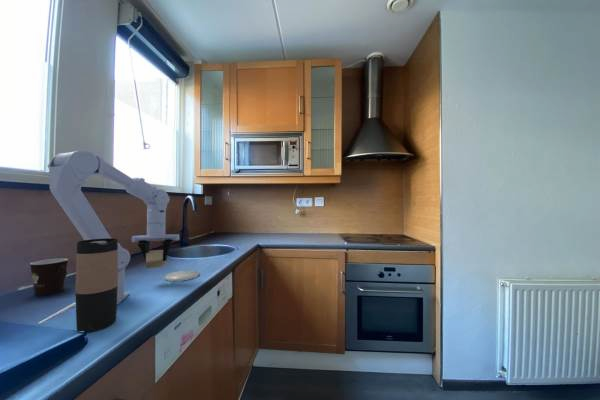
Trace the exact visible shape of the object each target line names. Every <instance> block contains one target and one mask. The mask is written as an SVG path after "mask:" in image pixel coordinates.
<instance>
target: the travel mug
mask: <svg viewBox="0 0 600 400" xmlns="http://www.w3.org/2000/svg"><path fill="white" fill-rule="evenodd" d="M118 241H119V240H118V238H112V237H111V238H104V239H91V240H84V239H83V240H80V241H77V242H76V259H75V260H76V262H75V263H76V266H75V302H76V306H75V320H76V321H75V322H76V331H77V332H78V331H84V332H86V333H85V334H87V333H95V332H98V331H100V330H102V331H103V330H104V329H107V328H109V327H111V326H112V325H113V324H115V323H116V319H117V309H118V308H117V307H118V305H117V290H118V243H119V242H118Z"/></svg>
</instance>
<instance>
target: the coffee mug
mask: <svg viewBox="0 0 600 400" xmlns="http://www.w3.org/2000/svg"><path fill="white" fill-rule="evenodd" d="M68 261H69V258H62V257H60V258H51V259H43V260H38V261H33V262H30V263H29V265H30V273H31V277H32V285H33V292H34V295H35V296H37V297H38V296H49V295H53V294H57V293H61V292H62V291H64V285H65V281H66V280H65V279H66V277H67V275H68V272H67V271H68V270H67V267H68Z"/></svg>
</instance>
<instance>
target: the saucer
mask: <svg viewBox="0 0 600 400" xmlns="http://www.w3.org/2000/svg"><path fill="white" fill-rule="evenodd" d="M198 275H200V272H199V271H197V270H192V269H191V270H180V271H174V272H170V273H168V274H166V275H165V276H164V280H165V281H167V282H185V281H184V280H186V281H190V280H193V279H192V278H194V279H196V278H198V277H199V276H198ZM197 276H198V277H197ZM195 277H196V278H195ZM189 279H190V280H189Z"/></svg>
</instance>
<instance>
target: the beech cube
mask: <svg viewBox="0 0 600 400" xmlns="http://www.w3.org/2000/svg"><path fill="white" fill-rule="evenodd" d="M165 265H166V261H163V249H162V250H161V249H160V250H157V249H156V250H149V252H148V253H146V262H145V269H152V268H162V267H164V266H165Z"/></svg>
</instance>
